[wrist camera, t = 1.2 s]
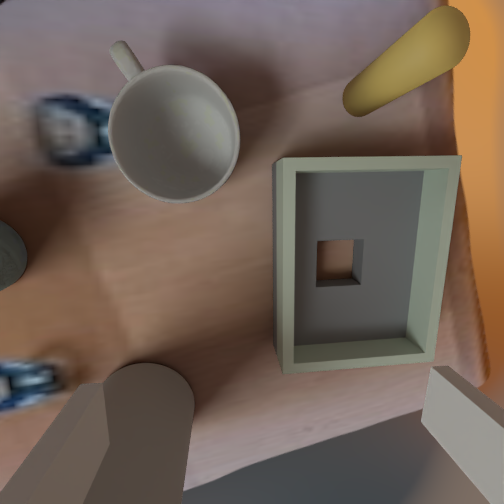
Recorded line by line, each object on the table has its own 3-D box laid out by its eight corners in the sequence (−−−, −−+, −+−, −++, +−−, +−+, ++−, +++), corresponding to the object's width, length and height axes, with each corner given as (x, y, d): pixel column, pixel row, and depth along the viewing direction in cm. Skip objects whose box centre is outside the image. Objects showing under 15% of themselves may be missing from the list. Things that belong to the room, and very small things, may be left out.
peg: (343, 77, 30) (419, 4, 18) (378, 78, 30) (474, 6, 19) (341, 116, 31) (412, 71, 19) (375, 116, 31) (465, 72, 20)
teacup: (250, 179, 31) (259, 175, 24) (163, 214, 31) (142, 222, 23) (201, 49, 28) (192, -5, 20) (103, 88, 28) (57, 48, 20)
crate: (272, 164, 31) (283, 157, 25) (419, 161, 33) (462, 155, 27) (273, 344, 36) (282, 374, 30) (401, 335, 38) (433, 361, 32)
